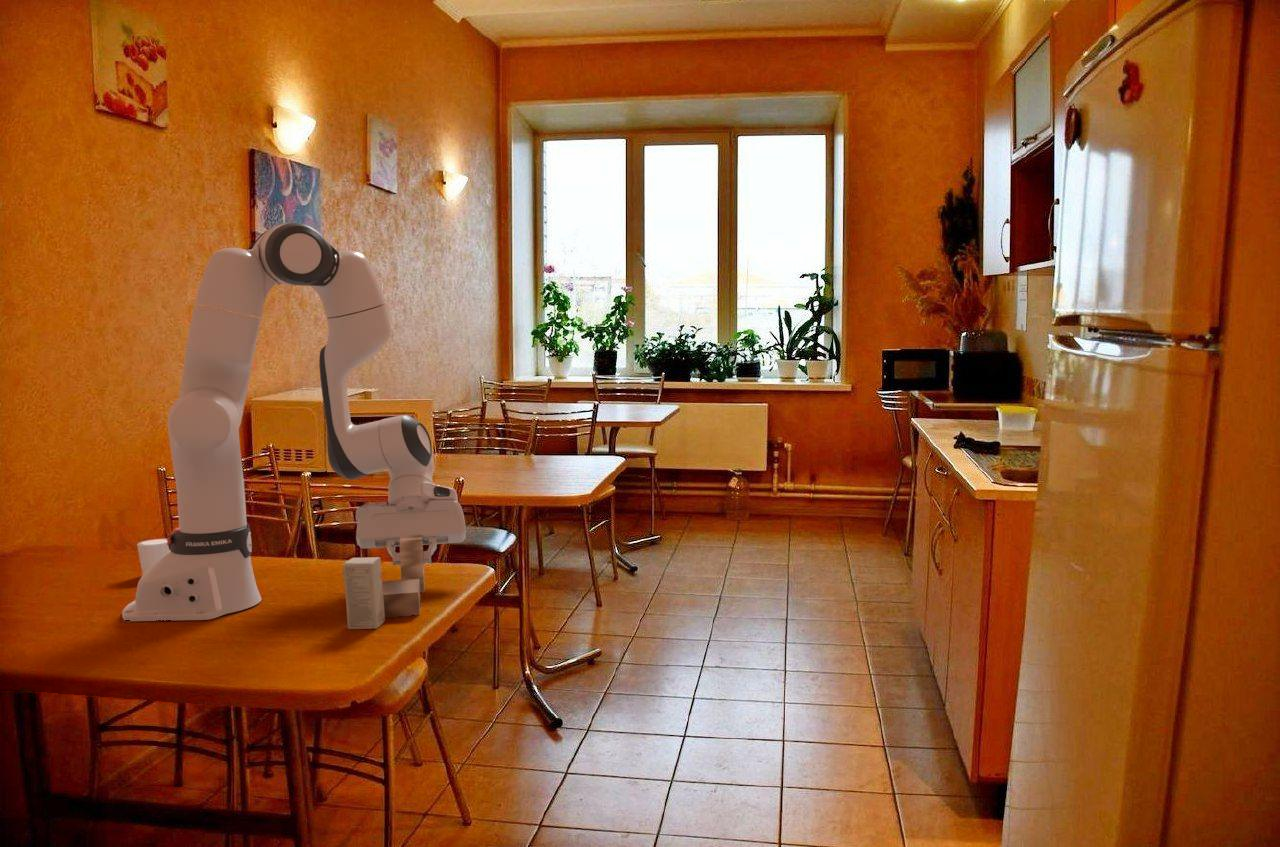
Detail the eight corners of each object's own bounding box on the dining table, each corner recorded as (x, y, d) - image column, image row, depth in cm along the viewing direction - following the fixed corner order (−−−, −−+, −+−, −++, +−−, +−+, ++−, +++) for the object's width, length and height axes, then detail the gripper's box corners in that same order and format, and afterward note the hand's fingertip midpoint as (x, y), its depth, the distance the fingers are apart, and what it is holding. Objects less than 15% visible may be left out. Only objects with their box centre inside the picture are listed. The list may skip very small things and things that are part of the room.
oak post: (402, 593, 184) (399, 540, 183) (402, 588, 188) (400, 535, 187) (424, 592, 185) (421, 539, 184) (424, 586, 189) (422, 534, 188)
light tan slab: (364, 619, 169) (363, 596, 168) (368, 604, 178) (367, 582, 177) (419, 615, 171) (418, 592, 170) (420, 600, 179) (419, 578, 179)
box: (386, 621, 167) (382, 556, 166) (376, 629, 163) (373, 563, 162) (355, 621, 168) (352, 556, 167) (345, 629, 164) (342, 563, 163)
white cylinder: (170, 569, 206) (168, 536, 206) (182, 575, 201) (179, 541, 201) (135, 575, 202) (132, 541, 201) (145, 582, 197) (143, 547, 196)
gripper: (354, 494, 189) (352, 557, 181) (463, 488, 193) (466, 550, 185) (357, 513, 194) (355, 575, 186) (464, 507, 198) (467, 567, 189)
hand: (412, 562), depth 185 cm, fingers closed on oak post, 4 cm apart
